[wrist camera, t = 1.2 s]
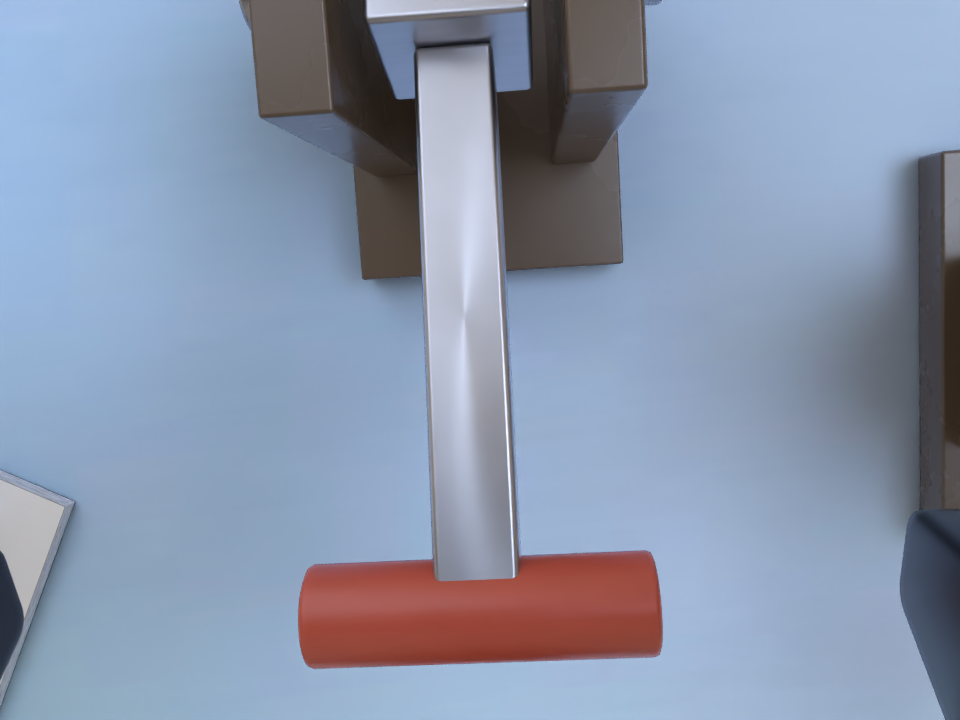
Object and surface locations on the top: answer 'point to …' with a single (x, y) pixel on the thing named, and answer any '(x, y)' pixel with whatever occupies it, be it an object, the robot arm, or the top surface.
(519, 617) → the handle
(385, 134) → the brown lever stand
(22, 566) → the car cutout
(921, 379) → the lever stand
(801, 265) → the top surface
